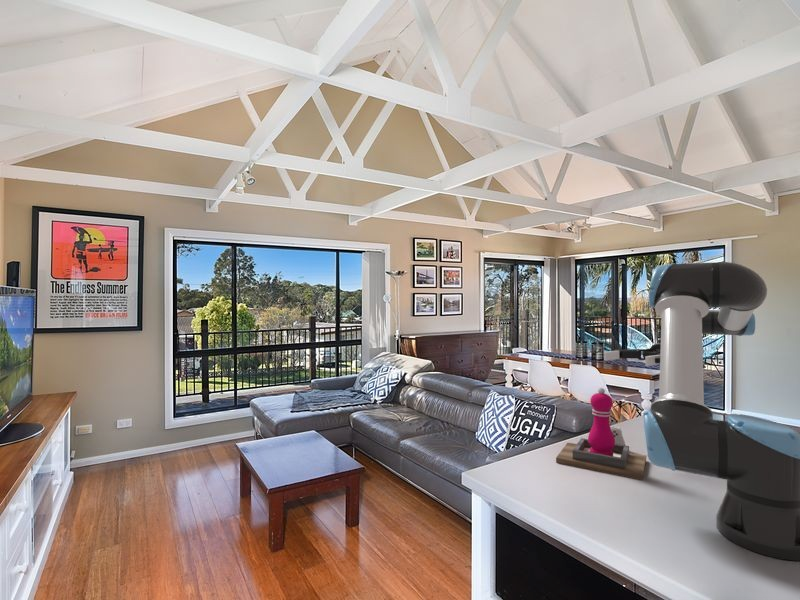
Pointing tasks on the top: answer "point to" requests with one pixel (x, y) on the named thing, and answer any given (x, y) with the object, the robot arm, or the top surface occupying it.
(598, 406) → the pepper mill
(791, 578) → the top surface
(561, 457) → the socket board
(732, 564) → the top surface
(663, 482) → the top surface
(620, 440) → the gaming controller
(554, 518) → the top surface
